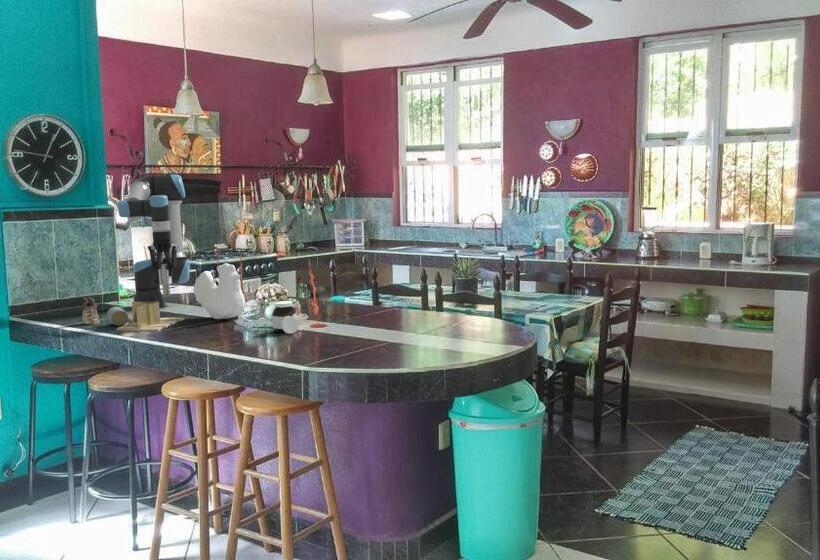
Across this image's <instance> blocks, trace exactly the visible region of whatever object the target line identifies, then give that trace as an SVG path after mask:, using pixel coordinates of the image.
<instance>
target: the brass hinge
mask: <svg viewBox="0 0 820 560" xmlns="http://www.w3.org/2000/svg"><path fill="white" fill-rule="evenodd" d="M131 307H132V309H131V310H132V319H133V321H134V322H138V329H141V328H143V327H146V326H148V325H155V324H159V323H160V318H161V315H160V313H161V312H160V311H161V310H160V307H159V302H136V301H134V300H133V301H131Z"/></svg>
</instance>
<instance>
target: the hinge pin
mask: <svg viewBox="0 0 820 560" xmlns="http://www.w3.org/2000/svg"><path fill="white" fill-rule="evenodd" d="M167 268H168V267H167V264H162V265H161V275H162V285H161V286H162V295H163V298H164V297H165V298H166V297H170V296H171V290H170V289H171V287H170V284H167V273H166V269H167Z"/></svg>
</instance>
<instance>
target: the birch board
mask: <svg viewBox="0 0 820 560" xmlns="http://www.w3.org/2000/svg"><path fill="white" fill-rule="evenodd" d="M182 320H183V321H185V317H160V323H159V324H155V325H148V326H146V327H143V328H141V329H138V322H132V323H128V324H127V323H126V324H124V325H122V326H118V327H117V328H115V330H116V332H159V331H161V329H162V330H164V329H166V328H168V326H169V327H171V326H173V325H175V323H176V324H178V323H180V322H182ZM179 321H180V322H179ZM177 322H178V323H177ZM172 324H173V325H172ZM170 325H171V326H170ZM165 327H166V328H165ZM163 328H164V329H163Z"/></svg>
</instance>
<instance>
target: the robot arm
mask: <svg viewBox="0 0 820 560" xmlns="http://www.w3.org/2000/svg"><path fill="white" fill-rule="evenodd" d="M128 191H129V195H128V196H127V199H124V200H119V201H118V203H117V209H118V215H119V217H121V218H126V219H127V218H139V217H140V218H141V217H151V228H152V229H151V230H152V231H153V232H152V240H153V241H152V242H153V243H152V244H151V245H148V246H147V250H148V252H149V256H150V257H149V259H143V260H140V261H136V262H134V264H133V273H134V274H133V275H134V277H133V278H134V286H135V287H134V288H135V289H134V290H135V294H134V298H133V301H136V302H159V308H162V307H164V306H166V300H165V298H164V296H163V292H162V290H161V286H162V275H161V265H162V264H167V267H168V268H167V269H166V273H167V284H169V285H174V284H179V285H180V284H186V283H187V282H188V281H189V280H190V274H191V273H190V272H191V270H190V268H191V261H190V259H187V255H186V254H184V249H183V234H182V233H183V232H182V231H183V230H182V220H181V206H180V205H181V204H182V203H183V200H184V198H186V191H185V186H184V182H183V179H182V176H181V175H179V174H172V173H171V174H155V175H152V174H149V175H145V176H142V177H140V178H137V179H136V180H135V181H134V182H132V183H131V184H130V187H129V190H128ZM163 254H164V255H163Z"/></svg>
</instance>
